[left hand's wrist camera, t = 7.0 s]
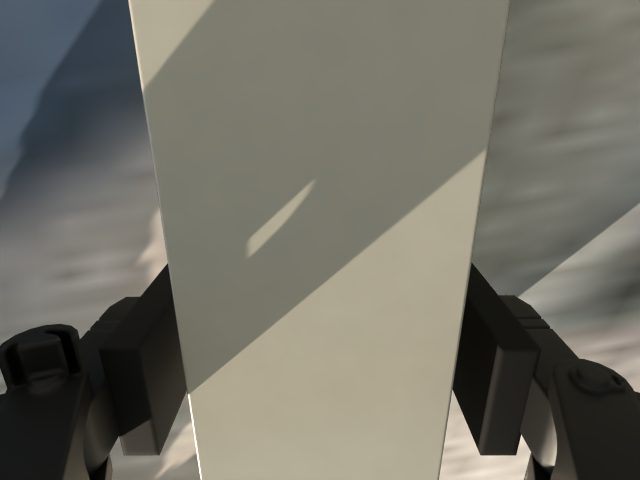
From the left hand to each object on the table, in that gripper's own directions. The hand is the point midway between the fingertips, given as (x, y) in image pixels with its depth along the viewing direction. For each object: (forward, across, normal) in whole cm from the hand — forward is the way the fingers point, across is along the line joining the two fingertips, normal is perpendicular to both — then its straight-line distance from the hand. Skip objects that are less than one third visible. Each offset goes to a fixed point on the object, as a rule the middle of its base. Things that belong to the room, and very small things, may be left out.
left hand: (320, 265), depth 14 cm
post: (+1, 0, -18) cm, 18 cm away
